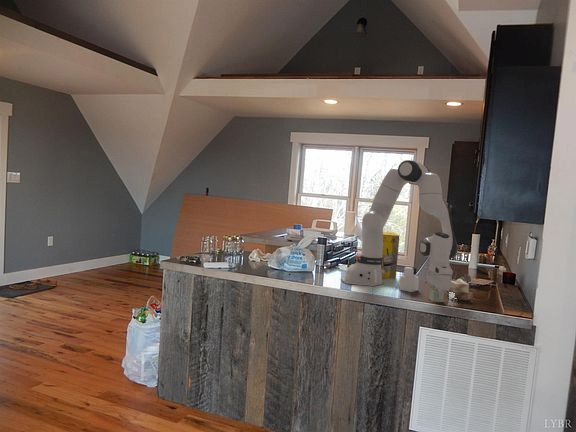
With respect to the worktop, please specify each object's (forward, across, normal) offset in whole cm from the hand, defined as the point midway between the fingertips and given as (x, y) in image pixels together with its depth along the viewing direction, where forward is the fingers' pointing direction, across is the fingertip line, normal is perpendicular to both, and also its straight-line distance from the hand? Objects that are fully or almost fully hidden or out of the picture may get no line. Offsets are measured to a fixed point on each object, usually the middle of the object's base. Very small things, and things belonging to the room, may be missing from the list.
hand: (436, 296), depth 224 cm
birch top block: (-2, -7, +14) cm, 16 cm away
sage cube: (+2, 0, 0) cm, 2 cm away
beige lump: (+2, -7, +14) cm, 16 cm away
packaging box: (+2, -54, -13) cm, 56 cm away
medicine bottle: (+2, -19, -7) cm, 20 cm away
